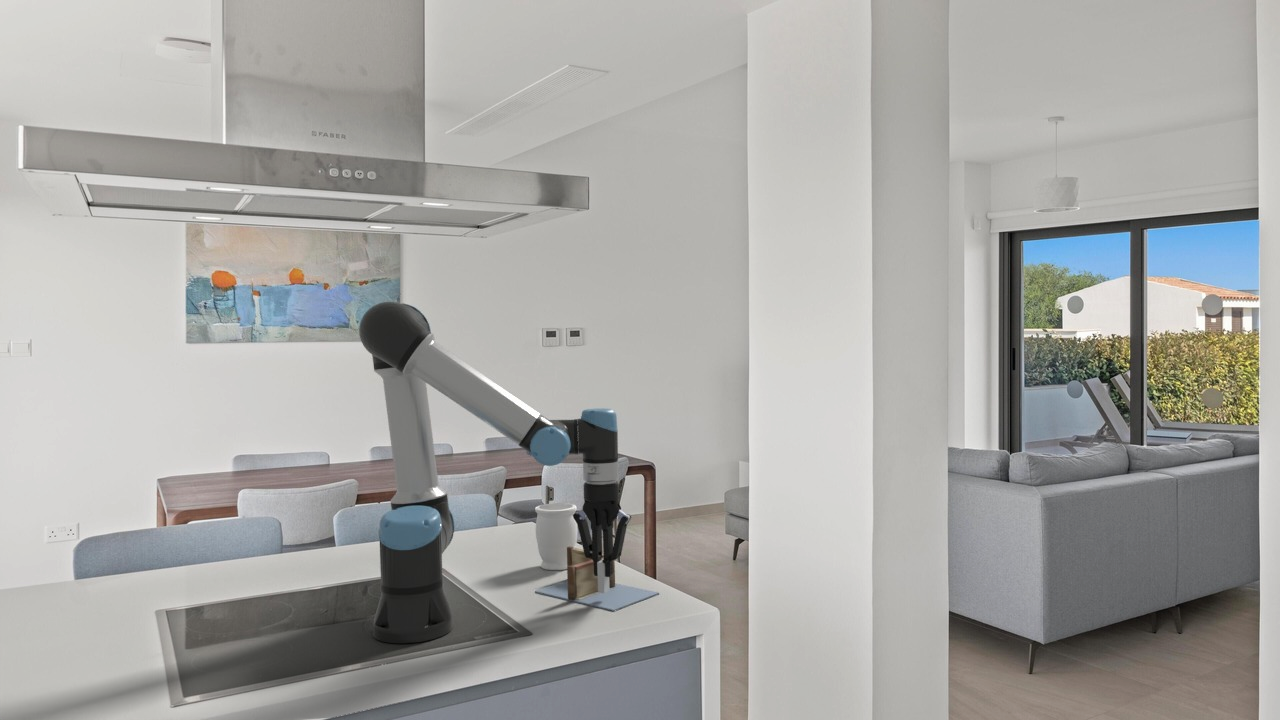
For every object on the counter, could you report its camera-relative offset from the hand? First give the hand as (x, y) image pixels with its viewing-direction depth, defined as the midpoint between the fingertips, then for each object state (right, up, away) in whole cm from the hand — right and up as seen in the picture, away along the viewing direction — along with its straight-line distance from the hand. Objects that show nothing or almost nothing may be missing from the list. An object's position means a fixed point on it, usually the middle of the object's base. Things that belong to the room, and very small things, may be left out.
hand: (603, 591), depth 186 cm
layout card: (-2, -2, +7) cm, 7 cm away
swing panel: (-4, -2, +5) cm, 6 cm away
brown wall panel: (-4, -2, +14) cm, 15 cm away
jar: (-13, -2, +30) cm, 33 cm away
